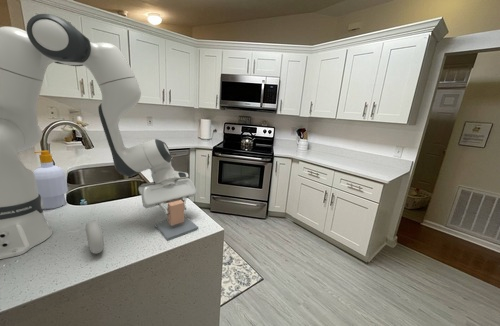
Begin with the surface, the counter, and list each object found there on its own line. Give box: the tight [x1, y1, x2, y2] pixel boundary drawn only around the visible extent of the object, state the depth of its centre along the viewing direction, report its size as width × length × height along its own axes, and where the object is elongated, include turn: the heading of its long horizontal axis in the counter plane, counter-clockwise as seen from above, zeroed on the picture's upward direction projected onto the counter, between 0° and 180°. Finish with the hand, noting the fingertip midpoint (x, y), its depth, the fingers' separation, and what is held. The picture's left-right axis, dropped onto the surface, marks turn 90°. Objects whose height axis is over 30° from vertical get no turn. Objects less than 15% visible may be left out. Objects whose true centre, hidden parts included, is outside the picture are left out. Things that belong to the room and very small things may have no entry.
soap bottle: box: [32, 149, 69, 210], centre depth 87 cm, size 10×10×24 cm
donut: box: [85, 220, 105, 255], centre depth 64 cm, size 10×4×10 cm, turn 45°
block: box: [167, 200, 185, 226], centre depth 79 cm, size 5×3×8 cm, turn 133°
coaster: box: [154, 214, 199, 242], centre depth 80 cm, size 12×12×1 cm
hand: (176, 211), depth 79 cm, fingers closed on block, 5 cm apart
